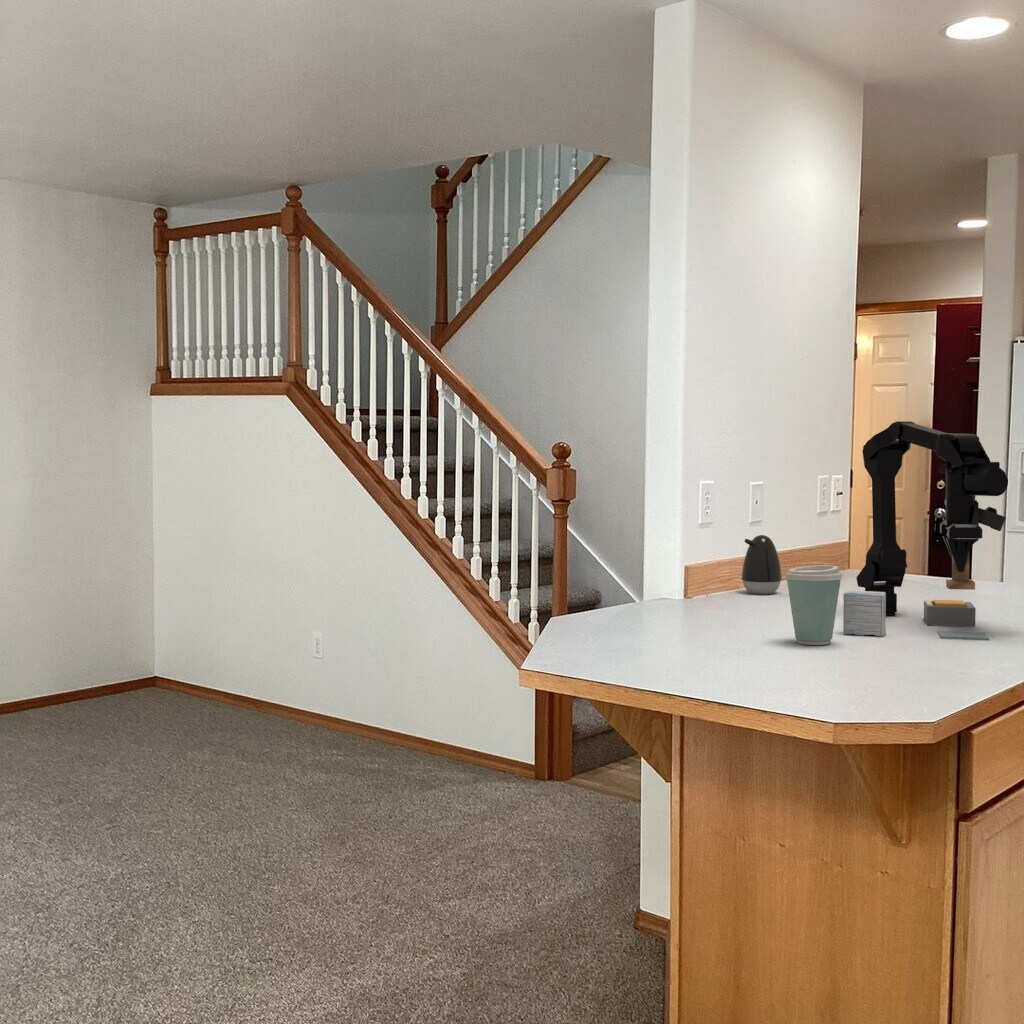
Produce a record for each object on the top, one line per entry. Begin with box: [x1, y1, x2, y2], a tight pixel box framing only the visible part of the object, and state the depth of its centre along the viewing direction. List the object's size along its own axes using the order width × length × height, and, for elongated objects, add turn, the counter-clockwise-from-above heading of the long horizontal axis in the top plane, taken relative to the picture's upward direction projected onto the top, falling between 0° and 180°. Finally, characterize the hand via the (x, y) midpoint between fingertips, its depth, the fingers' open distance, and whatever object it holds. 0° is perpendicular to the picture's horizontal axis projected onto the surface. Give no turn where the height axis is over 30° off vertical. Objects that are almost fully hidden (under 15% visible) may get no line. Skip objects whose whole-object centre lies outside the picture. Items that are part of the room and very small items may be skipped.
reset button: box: [932, 599, 966, 607], centre depth 252 cm, size 6×6×3 cm
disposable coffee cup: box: [785, 564, 843, 646], centre depth 228 cm, size 11×11×15 cm
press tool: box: [945, 553, 976, 591], centre depth 240 cm, size 5×5×8 cm
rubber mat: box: [937, 630, 990, 641], centre depth 235 cm, size 9×7×1 cm
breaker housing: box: [923, 600, 977, 628], centre depth 252 cm, size 10×10×4 cm
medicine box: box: [842, 590, 887, 637], centre depth 238 cm, size 8×4×9 cm, turn 65°
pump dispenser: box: [741, 534, 783, 596], centre depth 302 cm, size 10×10×15 cm
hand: (960, 571), depth 240 cm, fingers closed on press tool, 3 cm apart
